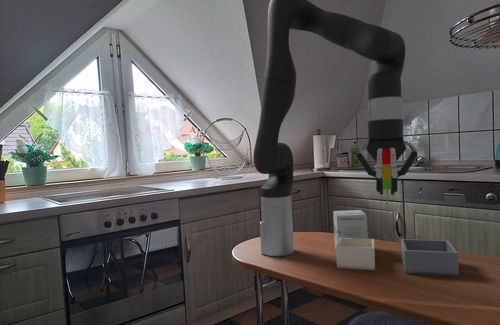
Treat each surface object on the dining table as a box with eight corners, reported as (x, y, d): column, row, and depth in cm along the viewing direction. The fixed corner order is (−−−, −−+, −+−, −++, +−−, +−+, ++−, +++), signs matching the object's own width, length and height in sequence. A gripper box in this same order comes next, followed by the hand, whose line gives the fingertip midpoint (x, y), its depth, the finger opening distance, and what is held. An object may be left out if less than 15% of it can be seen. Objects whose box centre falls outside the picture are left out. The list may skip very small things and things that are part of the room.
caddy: (405, 273, 84) (404, 250, 84) (401, 259, 95) (400, 239, 95) (458, 276, 81) (458, 252, 80) (448, 261, 91) (448, 240, 91)
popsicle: (392, 215, 79) (390, 147, 78) (383, 214, 80) (381, 148, 79) (391, 210, 84) (389, 147, 84) (382, 210, 85) (381, 147, 84)
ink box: (362, 247, 108) (361, 208, 108) (369, 255, 100) (367, 213, 99) (334, 247, 109) (332, 209, 109) (338, 256, 101) (336, 214, 100)
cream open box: (336, 268, 91) (336, 246, 90) (340, 257, 99) (339, 237, 99) (375, 270, 88) (374, 248, 87) (374, 259, 96) (374, 239, 96)
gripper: (352, 119, 80) (355, 196, 80) (420, 115, 75) (422, 196, 76) (354, 121, 87) (356, 192, 88) (416, 118, 82) (417, 192, 83)
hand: (387, 193), depth 82 cm, fingers closed on popsicle, 2 cm apart
